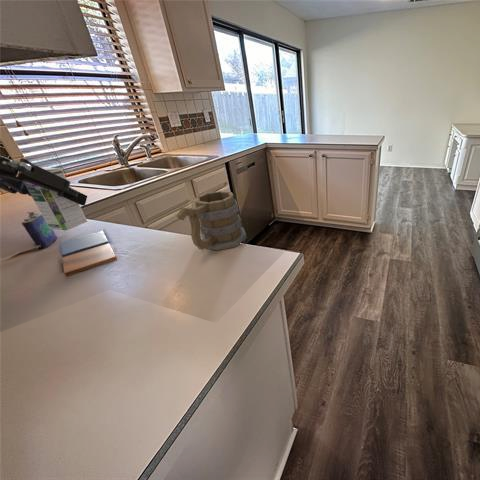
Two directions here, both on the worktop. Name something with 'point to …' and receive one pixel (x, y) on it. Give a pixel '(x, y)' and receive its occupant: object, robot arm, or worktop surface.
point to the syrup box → (56, 205)
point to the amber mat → (88, 259)
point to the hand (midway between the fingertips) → (71, 201)
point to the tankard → (215, 221)
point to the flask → (39, 230)
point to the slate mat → (83, 243)
